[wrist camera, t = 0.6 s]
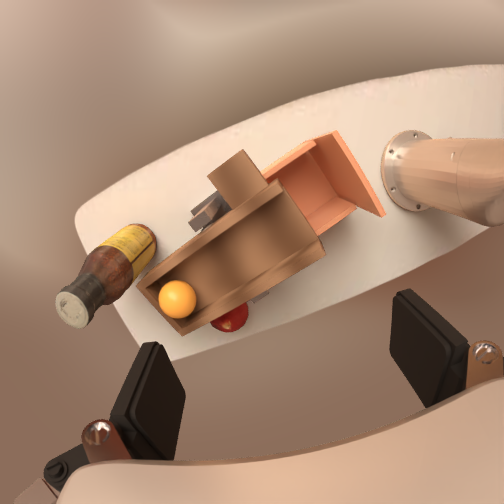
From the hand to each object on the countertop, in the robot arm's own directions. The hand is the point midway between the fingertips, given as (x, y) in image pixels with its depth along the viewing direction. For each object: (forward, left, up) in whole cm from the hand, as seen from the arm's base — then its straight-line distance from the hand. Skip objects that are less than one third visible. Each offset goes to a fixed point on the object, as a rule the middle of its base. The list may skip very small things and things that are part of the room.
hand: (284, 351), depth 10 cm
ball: (+11, 0, -17) cm, 20 cm away
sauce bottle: (+17, -7, -30) cm, 35 cm away
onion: (+11, +8, -30) cm, 33 cm away
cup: (-6, 0, -30) cm, 30 cm away
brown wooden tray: (+4, -2, -21) cm, 22 cm away
